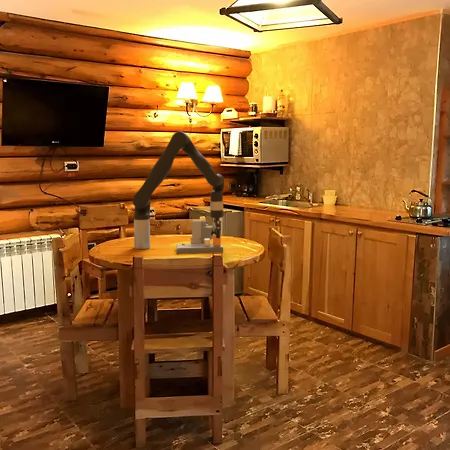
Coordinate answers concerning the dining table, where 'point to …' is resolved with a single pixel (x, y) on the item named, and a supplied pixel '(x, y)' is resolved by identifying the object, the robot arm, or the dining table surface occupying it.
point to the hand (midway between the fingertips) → (217, 236)
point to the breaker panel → (198, 248)
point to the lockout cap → (216, 241)
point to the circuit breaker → (200, 231)
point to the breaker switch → (207, 242)
